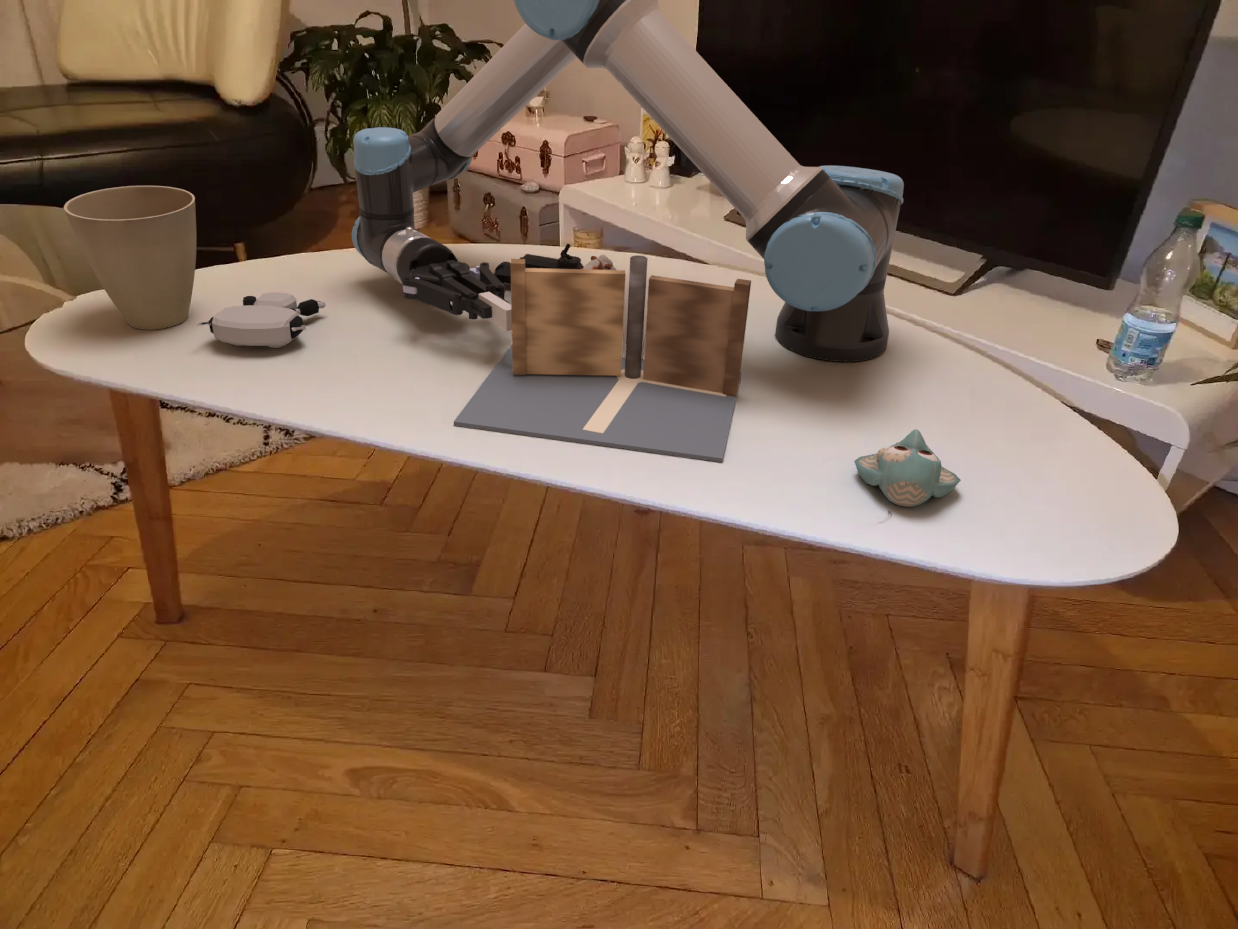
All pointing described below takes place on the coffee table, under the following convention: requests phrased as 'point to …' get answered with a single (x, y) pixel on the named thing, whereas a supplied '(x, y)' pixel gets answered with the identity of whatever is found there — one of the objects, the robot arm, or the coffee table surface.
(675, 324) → the rod
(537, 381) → the board
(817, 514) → the coffee table surface
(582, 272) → the fence panel
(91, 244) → the plant pot
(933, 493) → the stuffed animal
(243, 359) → the coffee table surface
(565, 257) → the toy vehicle
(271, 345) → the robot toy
